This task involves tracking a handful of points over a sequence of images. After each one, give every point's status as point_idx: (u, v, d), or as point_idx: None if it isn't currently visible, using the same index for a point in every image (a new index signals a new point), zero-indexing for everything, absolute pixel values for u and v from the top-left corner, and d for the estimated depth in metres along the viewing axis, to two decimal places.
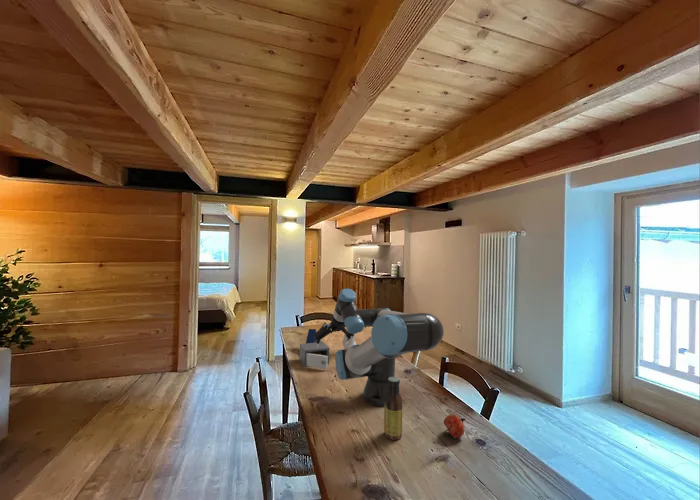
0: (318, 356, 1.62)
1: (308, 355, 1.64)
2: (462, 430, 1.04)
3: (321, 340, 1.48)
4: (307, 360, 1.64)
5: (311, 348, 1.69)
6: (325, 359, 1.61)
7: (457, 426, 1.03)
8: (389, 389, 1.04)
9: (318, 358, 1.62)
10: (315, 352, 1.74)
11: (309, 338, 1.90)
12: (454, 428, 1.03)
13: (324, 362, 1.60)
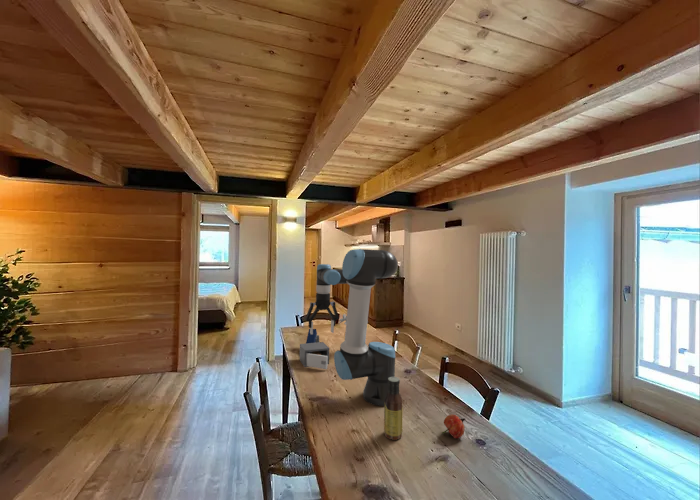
0: (318, 356, 1.62)
1: (308, 355, 1.64)
2: (462, 430, 1.04)
3: (312, 322, 1.62)
4: (307, 360, 1.64)
5: (311, 348, 1.69)
6: (325, 359, 1.61)
7: (457, 426, 1.03)
8: (389, 389, 1.04)
9: (318, 358, 1.62)
10: (315, 352, 1.74)
11: (309, 338, 1.90)
12: (454, 428, 1.03)
13: (324, 362, 1.60)
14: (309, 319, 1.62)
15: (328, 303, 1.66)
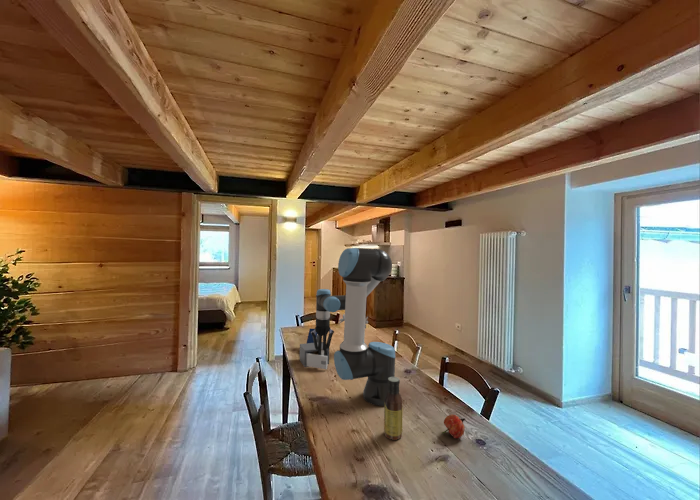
0: (318, 356, 1.62)
1: (308, 355, 1.64)
2: (462, 430, 1.04)
3: (322, 350, 1.63)
4: (307, 360, 1.64)
5: (311, 348, 1.69)
6: (325, 359, 1.61)
7: (457, 426, 1.03)
8: (389, 389, 1.04)
9: (317, 358, 1.62)
10: (315, 352, 1.74)
11: (310, 338, 1.91)
12: (454, 428, 1.03)
13: (324, 362, 1.60)
14: (318, 348, 1.63)
15: (328, 328, 1.64)
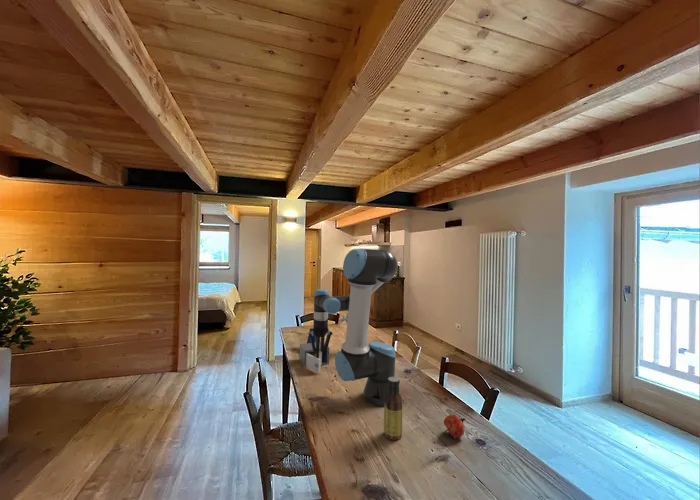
0: (313, 358, 1.59)
1: (307, 355, 1.63)
2: (462, 430, 1.04)
3: (320, 352, 1.59)
4: (306, 360, 1.63)
5: (311, 348, 1.69)
6: (318, 362, 1.56)
7: (457, 426, 1.03)
8: (389, 389, 1.04)
9: (313, 360, 1.59)
10: (315, 352, 1.74)
11: None
12: (454, 428, 1.03)
13: (316, 365, 1.56)
14: (316, 350, 1.58)
15: (326, 329, 1.60)
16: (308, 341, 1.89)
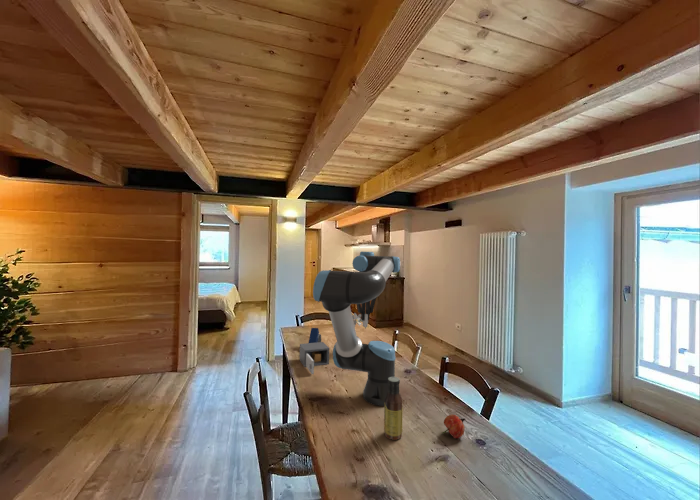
0: (309, 358, 1.58)
1: (306, 355, 1.63)
2: (462, 430, 1.04)
3: (366, 314, 1.57)
4: (306, 360, 1.63)
5: (311, 348, 1.69)
6: (311, 363, 1.54)
7: (457, 426, 1.03)
8: (389, 389, 1.04)
9: (309, 360, 1.58)
10: (315, 352, 1.74)
11: (312, 337, 1.93)
12: (454, 428, 1.03)
13: (310, 366, 1.54)
14: (362, 312, 1.57)
15: None
16: (310, 340, 1.91)
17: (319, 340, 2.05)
